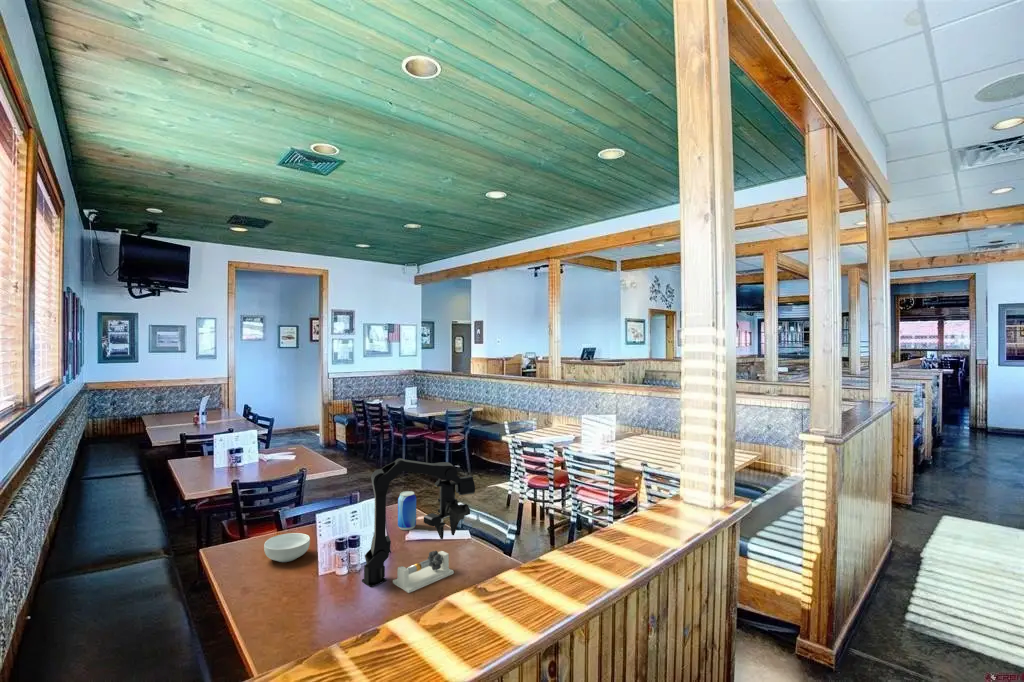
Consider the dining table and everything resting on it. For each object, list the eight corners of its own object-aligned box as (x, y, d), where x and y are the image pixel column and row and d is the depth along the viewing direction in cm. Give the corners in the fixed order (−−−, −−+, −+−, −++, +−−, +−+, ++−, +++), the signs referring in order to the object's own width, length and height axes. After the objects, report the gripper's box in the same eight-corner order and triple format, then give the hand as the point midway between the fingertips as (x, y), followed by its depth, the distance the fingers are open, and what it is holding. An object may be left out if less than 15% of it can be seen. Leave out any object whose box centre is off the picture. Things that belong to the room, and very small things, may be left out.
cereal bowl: (298, 568, 189) (298, 549, 189) (255, 567, 189) (255, 548, 189) (316, 549, 206) (316, 532, 206) (277, 548, 206) (277, 531, 206)
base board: (408, 593, 171) (408, 574, 171) (392, 583, 178) (392, 565, 178) (453, 573, 185) (453, 556, 185) (437, 565, 192) (437, 548, 192)
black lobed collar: (438, 573, 182) (438, 554, 182) (427, 567, 187) (427, 549, 187) (442, 571, 183) (442, 553, 183) (430, 565, 188) (430, 548, 188)
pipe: (405, 577, 174) (405, 570, 174) (400, 575, 176) (400, 568, 176) (445, 561, 187) (445, 554, 187) (441, 559, 189) (441, 552, 189)
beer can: (406, 532, 225) (406, 497, 225) (394, 528, 230) (394, 493, 230) (419, 526, 231) (420, 492, 231) (407, 522, 236) (408, 489, 236)
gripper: (441, 507, 177) (441, 550, 177) (479, 495, 191) (479, 536, 191) (422, 500, 185) (422, 541, 185) (460, 489, 198) (460, 528, 198)
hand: (447, 537), depth 189 cm, fingers open, 5 cm apart
